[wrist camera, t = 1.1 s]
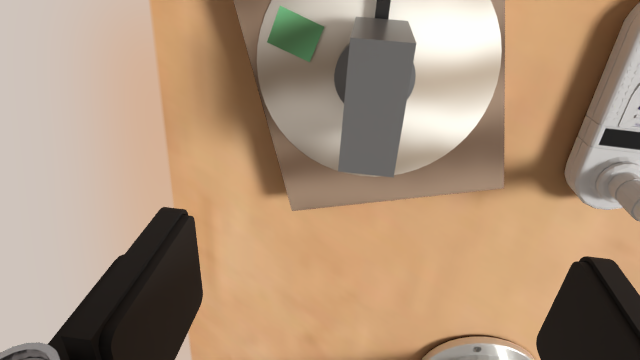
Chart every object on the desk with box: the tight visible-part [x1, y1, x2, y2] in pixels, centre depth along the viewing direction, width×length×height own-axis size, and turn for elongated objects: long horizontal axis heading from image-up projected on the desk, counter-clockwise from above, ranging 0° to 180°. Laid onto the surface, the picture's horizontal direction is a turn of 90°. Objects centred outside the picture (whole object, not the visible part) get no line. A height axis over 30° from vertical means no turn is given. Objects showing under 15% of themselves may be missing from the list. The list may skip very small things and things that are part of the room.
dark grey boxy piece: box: [334, 0, 416, 178], centre depth 23 cm, size 10×5×7 cm, turn 177°
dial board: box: [233, 0, 505, 211], centre depth 29 cm, size 20×16×3 cm
